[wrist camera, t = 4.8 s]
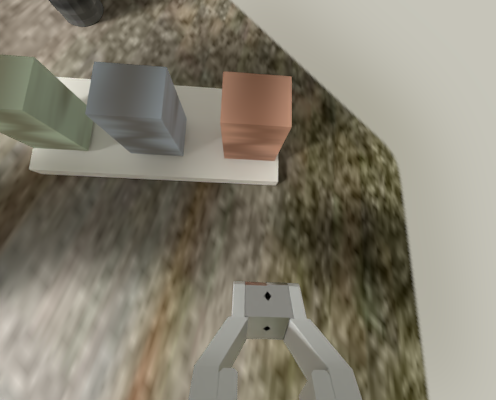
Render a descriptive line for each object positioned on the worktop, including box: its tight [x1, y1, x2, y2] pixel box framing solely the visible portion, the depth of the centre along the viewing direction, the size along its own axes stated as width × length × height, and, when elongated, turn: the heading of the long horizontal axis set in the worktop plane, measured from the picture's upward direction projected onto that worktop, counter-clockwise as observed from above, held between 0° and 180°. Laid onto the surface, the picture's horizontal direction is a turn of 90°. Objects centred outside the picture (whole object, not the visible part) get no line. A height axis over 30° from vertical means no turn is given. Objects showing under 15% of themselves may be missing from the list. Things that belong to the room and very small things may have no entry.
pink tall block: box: [220, 71, 292, 161], centre depth 20 cm, size 5×4×7 cm
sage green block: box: [0, 55, 93, 151], centre depth 19 cm, size 5×4×7 cm
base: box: [29, 77, 278, 185], centre depth 24 cm, size 24×10×2 cm, turn 88°
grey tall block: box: [85, 62, 187, 156], centre depth 19 cm, size 5×4×7 cm
